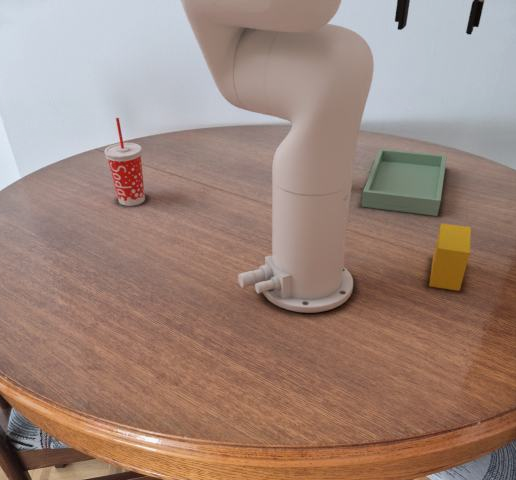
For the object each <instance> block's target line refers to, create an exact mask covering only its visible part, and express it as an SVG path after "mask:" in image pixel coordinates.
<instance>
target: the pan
mask: <svg viewBox="0 0 516 480" xmlns="http://www.w3.org/2000/svg"><path fill="white" fill-rule="evenodd" d="M447 157H448V155H446V154H437V153H429V152H428V153H427V152H418V151H417V152H416V151H406V150H399V149H387V148H379V149H378V151H377V154H376V156H375V160H374V162H373V165H372V166H371V167H372V168H371V169H370V172H369V175H368V178H367V180H366V183H365V186H364V188H363V190H362V199H361V207H362V208H369V209H378V210H386V211H392V212H401V213H408V214H409V213H410V214H417V215H426V216H433V217H438V216H439V211H440V207H441V201H442V194H443V187H444V181H445V173H446V167H447V166H446V165H447V159H448V158H447Z"/></svg>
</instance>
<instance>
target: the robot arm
mask: <svg viewBox="0 0 516 480" xmlns="http://www.w3.org/2000/svg"><path fill="white" fill-rule="evenodd" d="M180 3H181V5H182V8H183V11H184V14H185V17H186V19H187V22H188V23H189V26H190V28H191V31H192V33H193V36H194V38H195V40H196V42H197V45H198V47H199V49H200V52H201V54H202V57H203V59H204V61H205V63H206V66H207V68H208V71H209V72H210V75H211V77H212V79H213V81H214V84H215V86H216V88H217V89H218V91H219V93H220V94H221V95H222V97H223V98H224V99H225V100H226V101H227V102H228V103H229V104H230V105H232V106H233V107H236V108H238V109H241V110H244V111H247V112H252V113H255V114H261V115H266V116H269V117H270V116H271V117H275V118H278V119H282V120H285V121H288V122H290V124H291V128H290V130H289V132H288V134H287V135H286V136H285V137H284V139H283V140H282V141H281V142H280V144H279V146H278V147H277V148H276V150H275V153H274V155H273V159H272V165H271V166H272V167H271V180H272V181H271V187H272V189H271V190H272V191H271V192H272V193H271V215H272V216H271V223H272V224H271V254H270V255H266V256H264V264H263V265H259V267H258V269H254V270H248V271H245V272H241V273H238V274H237V281H238V284H239V285H240V288H242V289H244V288H248V287H251V286H254V290H255V292H256V293H257V294H258V295H259V294H263V295H264V297H265V298H266V299H267V300H268V301H269V302H270V303H272V304H273V305H275V306H277V307H278V308H282V309H284V310H286V311H291V312H296V313H305V314H312V313H322V312H326V311H331V310H333V309H335V308H338V307H339V306H341V305H343V304H344V303H345V302H347V301H348V299H349V298H350V297H351V295H352V293H353V290H354V279H353V276H352V274H351V273H350V271H349V269H347V268H346V267H345V266H344V265H345V254H346V245H347V237H348V235H347V234H348V226H349V216H350V206H351V197H352V196H351V195H352V186H353V179H354V177H353V175H354V166H355V158H356V150H357V144H358V139H359V133H360V129H361V124H362V120H363V116H364V112H365V109H366V106H367V105H366V104H367V101H368V97H369V95H370V91H371V87H372V82H373V78H374V70H375V68H374V67H375V66H374V65H375V64H374V55H373V51H372V49H371V47H370V45H369V44H368V42H367V41H366V39H365V38H364V37H363V36H361V35H360V34H358V33H357V32H356V31H353V30H352V29H349V28H347V27H344V26H341V25H337V24H331V23H330V22H331V20H332V19H333V18H334V17H335V16H336V14H337V13H338V11H339V9H340V6H341V3H342V0H180ZM410 3H411V0H397V1H396V8H395V16H394V23H397V30H398V31H402V30H403V29H405V27H406V26H407V22H408V15H409V9H410ZM484 5H485V0H472V3H471V7H470V12H469V16H468V20H467V21H468V22H467V26H466V30H465V34H466V35H470V36H471V35H472V33H473V31H474V28H479V26H480V22H481V18H482V14H483V10H484Z"/></svg>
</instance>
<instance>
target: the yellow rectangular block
mask: <svg viewBox="0 0 516 480" xmlns="http://www.w3.org/2000/svg"><path fill="white" fill-rule="evenodd" d="M471 237H472V227H471V226H464V225H458V224H456V225H455V224H449V223H442V222H441V223H440V225H439V230H438V234H437V239H436V244H435V248H434V253H433V257H432V261H431V268H430V269H431V270H430V277H429V285H428V286H429V287H431V288H438V289H443V290H451V291H457V292H460V290H461V287H462V284H463V279H464V276H465V273H466V269H467V265H468V262H469V258H470V254H471V241H472V240H471Z"/></svg>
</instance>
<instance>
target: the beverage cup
mask: <svg viewBox="0 0 516 480" xmlns="http://www.w3.org/2000/svg"><path fill="white" fill-rule="evenodd" d="M115 120H116V127H117V132H118V137H119V142H118V143H115V144H111V145H109V146H107V147H106V148H105V149H104V155H105V158H106V160H107V161H108V165H109V170H110V173H111V177H112V181H113V184H114V188H115V192H116V197H117V199H118V203H119V204H120V205H123V206H126V207H127V206H128V207H129V206H130V207H133V206H137V205H140V204H142V203H144V202H145V200H146V196H145V185H144V184H145V183H144V174H143V164H142V154H143V149H142V146H141V145H140V144H139V143H135V142H124V140H123V134H122V128H121V122H120V118H119V117H115Z"/></svg>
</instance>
